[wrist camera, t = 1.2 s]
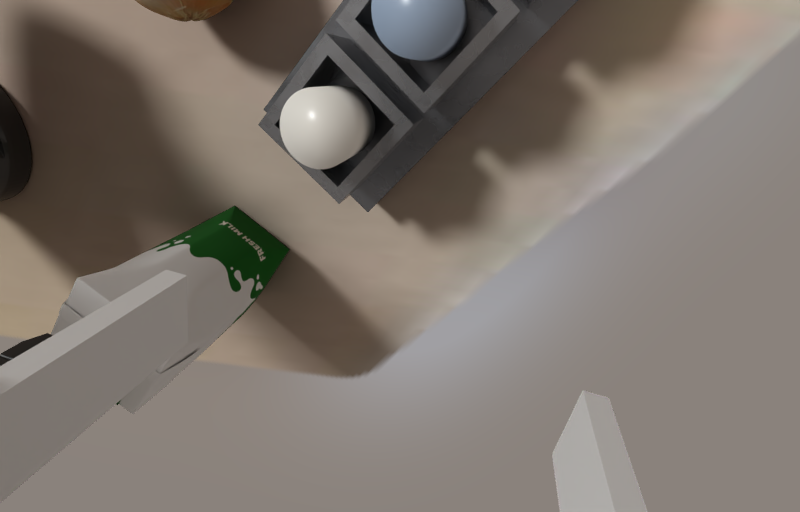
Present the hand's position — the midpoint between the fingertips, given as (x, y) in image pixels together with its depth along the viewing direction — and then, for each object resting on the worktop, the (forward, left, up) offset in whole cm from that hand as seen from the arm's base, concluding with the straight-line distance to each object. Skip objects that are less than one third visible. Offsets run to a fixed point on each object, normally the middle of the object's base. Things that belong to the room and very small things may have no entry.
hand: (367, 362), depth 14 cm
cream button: (-9, -1, -20) cm, 22 cm away
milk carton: (-9, -20, -27) cm, 35 cm away
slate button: (-9, +8, -20) cm, 24 cm away
